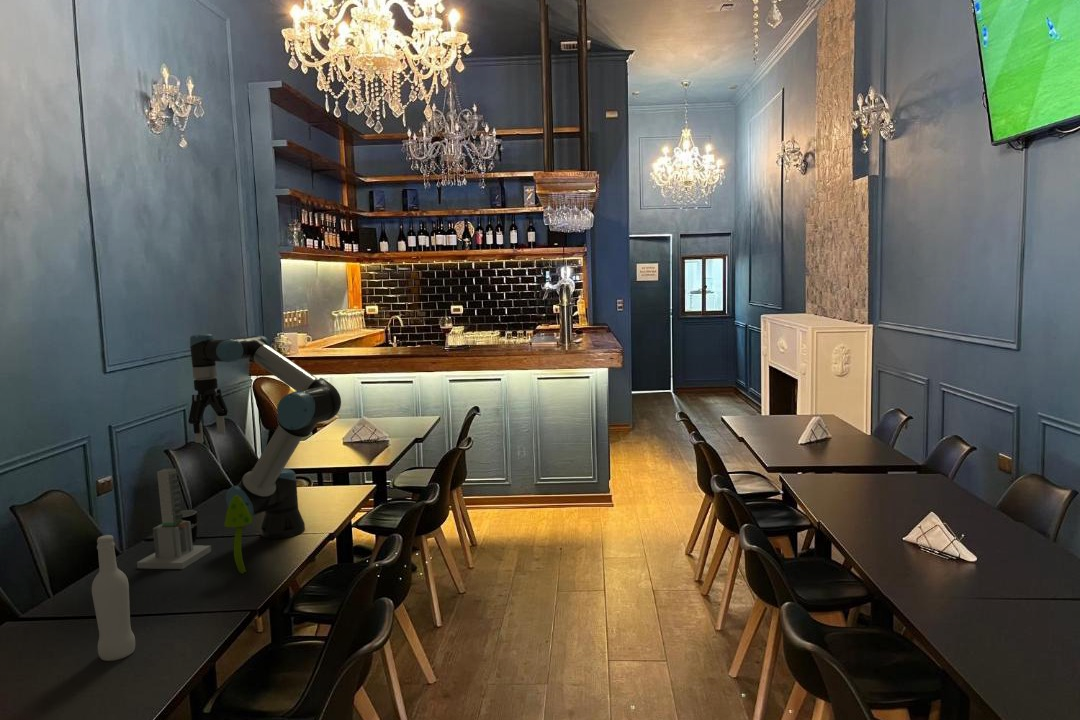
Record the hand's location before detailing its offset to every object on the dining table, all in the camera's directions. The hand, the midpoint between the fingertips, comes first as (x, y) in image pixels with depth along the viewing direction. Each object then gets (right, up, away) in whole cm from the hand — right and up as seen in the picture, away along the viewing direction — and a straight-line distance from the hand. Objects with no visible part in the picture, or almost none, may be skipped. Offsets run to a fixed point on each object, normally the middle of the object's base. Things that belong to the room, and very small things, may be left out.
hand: (210, 438), depth 272 cm
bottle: (+12, -45, -81) cm, 94 cm away
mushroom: (+23, -39, -30) cm, 54 cm away
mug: (-10, -37, +5) cm, 39 cm away
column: (-5, -31, -16) cm, 35 cm away
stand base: (-5, -39, -15) cm, 42 cm away
